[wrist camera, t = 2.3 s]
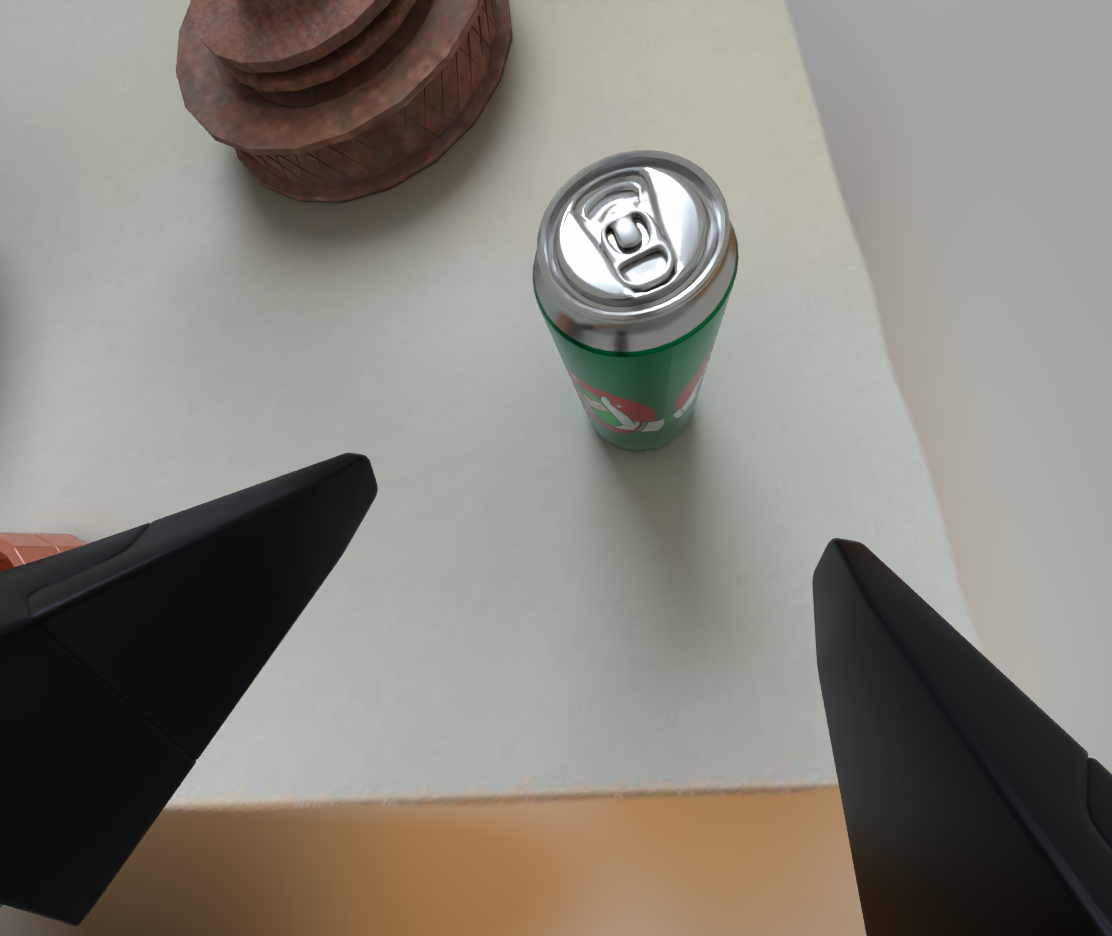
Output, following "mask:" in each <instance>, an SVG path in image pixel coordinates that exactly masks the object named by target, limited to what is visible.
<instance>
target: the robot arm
mask: <svg viewBox="0 0 1112 936" xmlns="http://www.w3.org/2000/svg"><path fill="white" fill-rule="evenodd" d="M377 490H378V486H377V482H376V479H375V476H374V473H373V469H372V466H371V463H370V460H369V459H368V458H367V456H365V455H361V454H355V453H345V454H342V455H339V456H336V457H333V458H331V459H328V460H325V461H322V462H319V463H317V464H314V465H311V466H308V467H305V468H302V469H300V470H297V471H294V472H291V473H288V474H285V475H283V476H280V477H277V478H274V479H271V480H269V481H266V482H263V483H260V484H257V485H254V486H252V487H249V488H246V489H243V490H240V491H237V492H235V493H232V494H229V495H226V496H223V497H221V498H218V499H215V500H212V501H209V502H206V503H204V504H201V505H198V506H195V507H192V508H189V509H187V510H184V511H181V512H178V513H175V514H173V515H170V516H167V517H164V518H161V519H158V520H156V521H153V522H152V523H147V524H144V525H141V526H138V527H136V528H133V529H130V530H127V531H124V532H121V533H118V534H115V535H113V536H110V537H107V538H104V539H101V540H98V541H95V542H92V543H89V544H86V545H83V546H80V547H77V548H74V549H71V550H68V551H64V552H61V553H58V554H55V555H52V556H49V557H46V558H42V559H39V560H36V561H33V562H30V563H26V564H23V565H20V566H17V567H14V568H10V569H7V570H4V571H1V572H0V907H1V906H2V905H3V904H4V905H7V906H11V907H14V908H17V909H20V910H23V911H27V912H30V913H33V914H36V915H40V916H43V917H46V918H50V919H53V920H56V921H59V922H63V923H66V924H69V925H72V926H78V925H79V924H80V923H81V922H82V921H83V920H84V918H85V917H86V916H87V915H88V914H89V912H90V911H91V910H92V908H93V907H94V906H95V904H96V903H97V902H98V900H99V899H100V897H101V896H102V894H103V893H104V891H105V890H106V889H107V887H108V886H109V884H110V883H111V882H112V880H113V879H114V878H115V876H116V875H117V873H118V872H119V870H120V869H121V868H122V866H123V865H124V863H125V862H126V861H127V859H128V858H129V856H130V855H131V854H132V852H133V851H134V849H135V848H136V846H137V845H138V844H139V842H140V841H141V839H142V838H143V836H144V835H145V834H146V832H147V831H148V829H149V828H150V827H151V825H152V824H153V822H154V821H155V820H156V818H157V817H158V815H159V814H160V812H161V811H162V810H163V808H164V807H165V805H166V804H167V803H168V801H169V800H170V798H171V797H172V796H173V794H174V793H175V791H176V790H177V788H178V787H179V786H180V784H181V783H182V781H183V780H184V779H185V777H186V776H187V774H188V773H189V772H190V770H191V769H192V767H193V766H194V764H195V763H196V759H198V758H199V757H200V755H201V754H202V753H203V751H204V750H205V748H206V747H207V746H208V744H209V743H210V741H211V740H212V738H213V737H214V736H215V734H216V733H217V731H218V730H219V729H220V727H221V726H222V724H223V723H224V722H225V720H226V719H227V717H228V716H229V715H230V713H231V712H232V710H233V709H234V707H235V706H236V705H237V703H238V702H239V700H240V699H241V698H242V696H243V695H244V693H245V692H246V691H247V689H248V688H249V686H250V685H251V683H252V682H253V681H254V679H255V678H256V676H257V675H258V674H259V672H260V671H261V669H262V668H263V667H264V665H265V664H266V662H267V661H268V659H269V658H270V657H271V655H272V654H273V652H274V651H275V650H276V648H277V647H278V645H279V644H280V643H281V641H282V640H283V638H284V637H285V635H286V634H287V633H288V631H289V630H290V628H291V627H292V626H293V624H294V623H295V621H296V620H297V619H298V617H299V616H300V614H301V613H302V611H303V610H304V609H305V607H306V606H307V604H308V603H309V602H310V600H311V599H312V597H313V596H314V595H315V593H316V592H317V590H318V589H319V587H320V586H321V585H322V583H323V582H324V580H325V579H326V578H327V576H328V575H329V573H330V572H331V571H332V569H333V568H334V566H335V565H336V563H337V562H338V561H339V559H340V558H341V556H342V555H343V553H344V551H345V550H346V548H347V546H348V545H349V543H350V541H351V539H352V538H353V536H354V534H355V532H356V531H357V529H358V527H359V525H360V524H361V522H362V520H363V518H364V517H365V515H366V513H367V511H368V510H369V508H370V506H371V504H372V502H373V501H374V499H375V497H376V495H377ZM813 601H814V619H815V637H816V654H817V666H818V673H819V679H820V685H821V690H822V696H823V701H824V707H825V712H826V718H827V723H828V728H829V734H830V739H831V745H832V750H833V756H834V761H835V766H836V772H837V777H838V783H839V788H840V794H841V799H842V804H843V810H844V815H845V820H846V826H847V831H848V837H849V842H850V848H851V853H852V859H853V864H854V870H855V875H856V880H857V886H858V891H859V897H860V902H861V908H862V913H863V918H864V924H865V929H866V934H867V936H1112V774H1111V773H1110V772H1109V771H1108V770H1107V769H1105V768H1104V767H1103V766H1102V765H1101V764H1100V763H1099V762H1098V761H1097V760H1095V759H1093V758H1088V753H1087V751H1086V750H1085V749H1084V748H1083V747H1081V746H1080V745H1079V744H1078V743H1077V742H1076V741H1075V740H1074V739H1073V738H1072V737H1071V736H1070V735H1068V734H1067V733H1066V732H1065V731H1064V730H1063V729H1062V728H1061V727H1060V726H1059V725H1058V724H1057V723H1055V722H1054V721H1053V720H1052V719H1051V718H1050V717H1049V716H1048V715H1047V714H1046V713H1045V712H1044V711H1043V710H1042V709H1041V708H1039V707H1038V706H1037V705H1036V704H1035V703H1034V702H1033V701H1032V700H1030V698H1028V696H1027V695H1025V694H1024V693H1023V692H1022V691H1021V690H1020V689H1019V688H1018V687H1017V686H1015V684H1014V683H1013V682H1011V681H1010V680H1009V679H1008V678H1007V677H1006V676H1005V675H1004V674H1003V673H1002V672H1001V671H1000V670H998V669H997V668H996V667H995V666H994V665H993V664H992V663H991V662H990V661H989V660H988V659H987V658H986V657H984V656H983V655H982V654H981V653H980V652H979V651H978V650H977V649H976V648H975V647H974V646H973V645H972V644H970V643H969V642H968V641H967V640H966V639H965V638H964V637H963V636H962V635H961V634H960V633H959V632H958V631H956V630H955V629H954V628H953V627H952V626H951V625H950V624H949V623H948V622H947V621H946V620H945V619H944V618H942V617H941V616H940V615H939V614H938V613H937V612H936V611H935V610H934V609H933V608H932V607H931V606H929V605H928V604H927V603H926V602H925V601H924V600H923V599H922V598H921V597H920V596H919V595H918V594H917V593H915V592H914V591H913V590H912V589H911V588H910V587H909V586H908V585H907V584H906V583H905V582H904V581H903V580H901V579H900V578H899V577H898V576H897V575H896V574H895V573H894V572H893V571H892V570H891V569H890V568H889V567H887V566H886V565H885V564H884V563H883V562H882V561H881V560H880V559H879V558H878V557H877V556H876V555H875V554H873V553H872V552H871V551H870V550H869V549H868V548H867V547H866V546H865V545H863V544H862V543H860V542H857V541H852V540H846V539H840V538H834V539H832V540H831V541H830V542H829V543H828V545H827V547H826V549H825V551H824V553H823V555H822V557H821V559H820V561H819V563H818V565H817V567H816V569H815V571H814V574H813Z"/></svg>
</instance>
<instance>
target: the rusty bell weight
mask: <svg viewBox="0 0 1112 936" xmlns="http://www.w3.org/2000/svg"><path fill="white" fill-rule="evenodd" d="M511 35H512V30H511V21H510V13H509V4H508V0H191V2H190V5H189V7H188V10H187V13H186V15H185V18H184V20H183V23H182V26H181V28H180V31H179V41H178V53H177V64H176V74H177V78H178V81H179V85H180V89H181V93H182V96H183V100H184V104H185V108H186V109H187V110H188V111H189V112H190V113H191V114H192V115H193V116H194V117H195V118H196V120H197V121H198V122H199V123H200V124H201V125H202V126H203V127H204V128H205V129H206V130H207V132H208V133H209V134H210V135H211V136H212V137H213V138H214V139H215V140H216V141H219V142H221V143H224V144H226V145H229V146H231V147H234V148H235V150H236V153H237V156H238V158H239V160H240V161H241V162H242V163H243V164H244V166H245V167H246V168H247V169H248V170H249V171H250V172H251V173H252V174H253V175H254V176H255V178H256V179H257V180H258V181H259V182H260V183H261V184H262V185H263V186H265V187H268V188H270V189H273V190H275V191H277V192H280V193H282V194H284V195H287V196H289V197H292V198H294V199H296V200H299V201H327V202H344V201H347V200H351V199H355V198H358V197H362V196H365V195H369V194H372V193H376V192H379V191H383V190H386V189H390V188H391V187H393V186H395V185H396V184H398V183H400V182H401V181H403V180H405V179H406V178H408V177H410V176H412V175H413V174H415V173H417V172H418V171H420V170H422V169H423V168H425V167H427V166H428V165H430V164H432V163H433V162H435V161H436V160H437V159H438V158H439V157H440V156H441V155H442V154H443V153H444V152H445V151H446V150H447V149H448V148H449V147H450V146H451V145H452V144H453V143H455V142H456V141H457V140H458V139H459V138H460V137H461V136H462V135H463V134H464V133H465V132H466V131H467V130H468V129H469V128H470V127H471V126H472V125H473V124H474V122H475V121H476V119H477V117H478V116H479V114H480V112H481V111H482V109H483V107H484V106H485V104H486V102H487V101H488V99H489V97H490V96H491V94H492V92H493V91H494V89H495V87H496V86H497V84H498V82H499V81H500V79H501V75H502V71H503V67H504V63H505V59H506V55H507V51H508V47H509V43H510V39H511Z"/></svg>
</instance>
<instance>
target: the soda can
mask: <svg viewBox="0 0 1112 936" xmlns="http://www.w3.org/2000/svg"><path fill="white" fill-rule="evenodd" d="M737 266H738V243H737V239H736V235H735V231H734V228H733V226H732V224H731V222H730V220H729V214H728V210H727V206H726V202H725V199H724V197H723V195H722V193H721V191H720V188H719V187H718V186H717V184H716V183H715V182H714V180H713V179H712V177H711V176H709V175H708V174H707V173H706V172H705V171H704V170H703V169H702V168H700V167H699V166H697V165H696V164H694V163H693V162H691V161H689V160H687V159H685V158H682V157H680V156H678V155H674V154H670V153H666V152H661V151H652V150H642V151H630V152H624V153H619V154H616V155H612V156H609V157H606V158H604V159H601V160H599V161H597V162H595V163H592V164H591V165H589V166H587V167H586V168H584V169H582V170H581V171H579V172H578V173H577V174H576V175H574V176H573V177H572V178H571V179H569V180H568V181H567V182H566V183H565V184H564V185H563V186H562V187H561V188H560V189H559V191H558V192H557V193H556V195H555V196H554V197H553V199H552V200H551V202H550V204H549V205H548V207H547V209H546V211H545V213H544V216H543V218H542V221H541V224H540V228H539V233H538V240H537V251H536V254H535V259H534V264H533V286H534V293H535V296H536V299H537V302H538V305H539V308H540V310H541V313H542V315H543V317H544V319H545V322H546V324H547V326H548V328H549V331H550V333H551V335H552V337H553V340H554V342H555V344H556V346H557V349H558V351H559V353H560V355H561V358H562V360H563V362H564V364H565V367H566V369H567V371H568V373H569V376H570V378H571V380H572V382H573V385H574V387H575V389H576V391H577V394H578V396H579V398H580V400H581V403H582V405H583V407H584V409H585V412H586V414H587V416H588V418H589V421H590V422H591V424H592V426H593V428H594V429H595V431H596V432H597V433H598V434H599V435H600V436H601V437H602V438H603V439H604V440H606V441H607V442H609V443H610V444H612V445H614V446H616V447H618V448H622V449H625V450H631V451H645V450H651V449H655V448H657V447H660V446H662V445H664V444H666V443H668V442H670V441H671V440H672V439H674V438H675V437H676V436H677V435H678V434H679V433H680V432H681V431H682V430H683V429H684V427H685V426H686V424H687V423H688V421H689V419H690V417H691V414H692V410H693V407H694V404H695V401H696V398H697V395H698V392H699V389H700V386H701V383H702V380H703V376H704V373H705V370H706V367H707V364H708V361H709V358H710V355H711V352H712V349H713V345H714V342H715V339H716V336H717V333H718V330H719V327H720V324H721V321H722V318H723V315H724V311H725V308H726V305H727V302H728V299H729V296H730V293H731V290H732V287H733V283H734V280H735V277H736V274H737Z"/></svg>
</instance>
